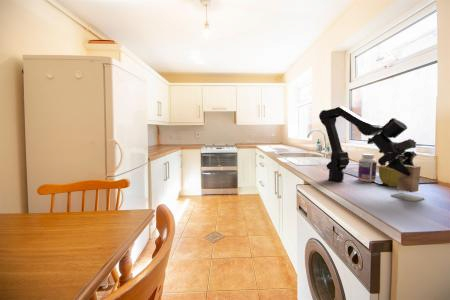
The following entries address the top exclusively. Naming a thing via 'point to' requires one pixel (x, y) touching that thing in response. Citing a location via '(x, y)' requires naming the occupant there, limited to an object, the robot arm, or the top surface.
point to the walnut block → (409, 179)
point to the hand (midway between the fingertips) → (413, 174)
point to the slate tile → (407, 197)
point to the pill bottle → (367, 168)
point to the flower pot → (388, 175)
